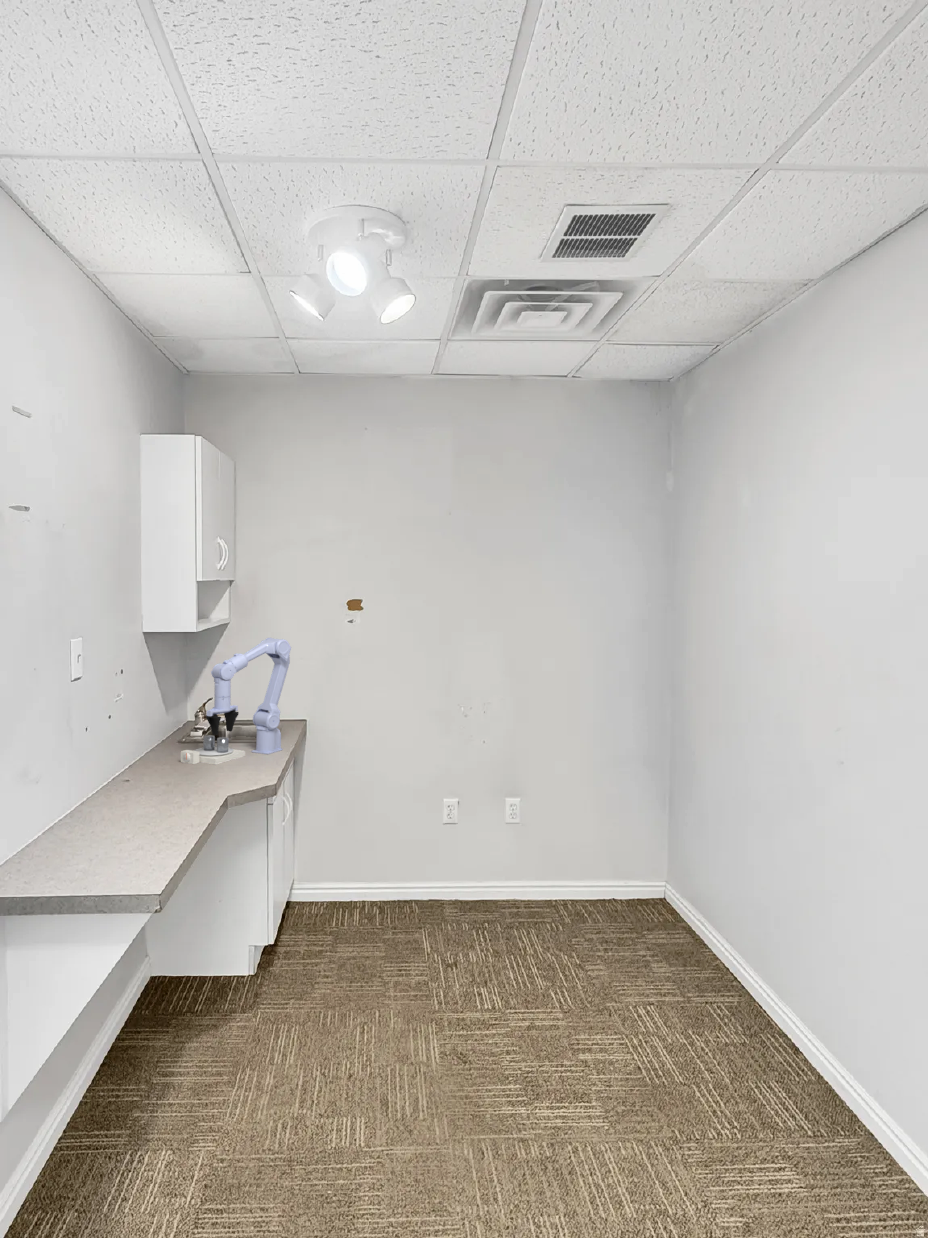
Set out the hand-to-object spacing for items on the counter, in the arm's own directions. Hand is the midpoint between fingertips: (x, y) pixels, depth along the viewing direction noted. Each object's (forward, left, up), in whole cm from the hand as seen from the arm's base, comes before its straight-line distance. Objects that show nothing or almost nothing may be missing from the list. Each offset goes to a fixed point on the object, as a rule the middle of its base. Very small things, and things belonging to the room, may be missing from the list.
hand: (222, 732), depth 309 cm
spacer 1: (0, -6, -7) cm, 9 cm away
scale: (+2, -4, -10) cm, 11 cm away
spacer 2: (0, 0, -7) cm, 7 cm away
